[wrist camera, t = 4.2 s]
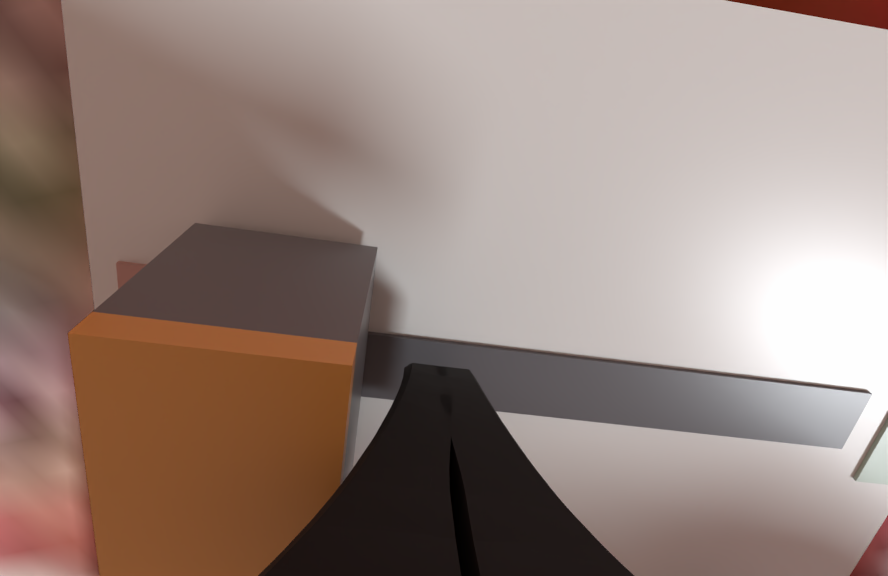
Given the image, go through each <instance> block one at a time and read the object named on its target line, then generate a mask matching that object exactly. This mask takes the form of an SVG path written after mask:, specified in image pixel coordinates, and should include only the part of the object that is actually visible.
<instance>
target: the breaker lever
mask: <svg viewBox="0 0 888 576" xmlns="http://www.w3.org/2000/svg"><path fill="white" fill-rule="evenodd" d="M377 249H378V247H373V246H365V245H358V244H350V243H342V242H335V241H327V240H320V239H312V238H305V237H297V236H290V235H282V234H275V233H267V232H260V231H252V230H245V229H237V228H229V227H222V226H214V225H207V224H199V223H194V224H193V225H192V226H191V227H190V228H189V229H187V230H186V231H185V232H184V233H183V234H182V235H180V236H179V237H178V238H177V239H176V240H175V241H174V242H172V243H171V244H170V245H169V246H168V247H167V248H165V249H164V250H163V251H162V252H161V253H160V254H159V255H157V256H156V257H155V258H154V259H153V260H152V261H150V262H149V263H148V264H147V265H146V266H145V267H143V268H142V269H141V270H140V271H139V272H138V273H137V274H135V275H134V276H133V277H132V278H131V279H130V280H128V281H127V282H126V283H125V284H124V285H123V286H122V287H120V288H119V289H118V290H117V291H116V292H115V293H113V294H112V295H111V296H110V297H109V298H108V299H107V300H105V301H104V302H103V303H102V304H101V305H100V306H98V307H97V308H96V309H95V310H94V311H93V312H92V313H90V314H89V315H88V316H87V317H86V318H85V319H83V320H82V321H81V322H80V323H79V324H78V325H76V326H75V327H74V328H73V329H72V330H71V331H70V332H68V340H69V348H70V355H71V363H72V370H73V378H74V385H75V393H76V401H77V408H78V416H79V423H80V431H81V438H82V446H83V453H84V461H85V469H86V476H87V484H88V491H89V499H90V506H91V514H92V521H93V529H94V537H95V544H96V552H97V559H98V567H99V574H100V576H258V575H259V574H260V573H261V572H262V571H263V570H264V569H265V568H266V567H267V566H268V565H269V564H270V563H271V562H272V561H273V560H274V559H275V558H276V557H277V556H278V555H279V554H280V553H281V552H282V551H283V550H284V549H285V548H286V547H287V546H288V545H289V544H290V543H291V541H292V540H293V539H294V538H295V537H296V536H297V535H298V534H299V533H300V532H301V531H302V530H303V529H304V528H305V526H306V525H307V524H308V523H309V522H310V521H311V520H312V519H313V518H314V516H315V515H316V514H317V513H318V512H319V511H320V509H321V508H322V507H323V506H324V505H325V503H326V502H327V501H328V500H329V499H330V498H331V496H332V495H333V494H334V492H335V491H336V490H337V489H338V487H339V486H340V485H341V484H342V482H343V481H344V480H345V478H346V477H347V476H348V474H349V473H350V472H351V470H352V469H353V462H354V453H355V444H356V435H357V427H358V418H359V409H360V400H361V391H362V382H363V373H364V364H365V356H366V347H367V338H368V329H369V320H370V311H371V302H372V294H373V285H374V276H375V267H376V258H377Z"/></svg>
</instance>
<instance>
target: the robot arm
mask: <svg viewBox="0 0 888 576" xmlns="http://www.w3.org/2000/svg"><path fill="white" fill-rule="evenodd" d="M258 576H634V575H633V574H632V573H631V572H630V571H629V570H628V569H627V568H625V567H624V566H623V565H622V564H621V563H620V562H619V561H618V560H617V559H616V558H615V557H614V556H613V555H612V554H611V553H610V552H609V551H608V550H607V549H606V548H605V547H604V546H603V545H602V544H601V543H600V542H599V541H598V540H597V539H596V538H595V537H594V536H593V535H592V533H591V532H590V531H589V530H588V529H587V528H586V527H585V526H584V525H583V524H582V523H581V522H580V521H579V520H578V519H577V518H576V517H575V516H574V515H573V513H572V512H571V511H570V510H569V509H568V508H567V507H566V506H565V504H564V503H563V502H562V501H561V500H560V499H559V498H558V496H557V495H556V494H555V493H554V491H553V490H552V489H551V488H550V486H549V485H548V484H547V483H546V481H545V480H544V479H543V478H542V476H541V475H540V474H539V473H538V471H537V470H536V469H535V467H534V466H533V465H532V463H531V462H530V461H529V459H528V458H527V457H526V455H525V454H524V452H523V451H522V449H521V448H520V447H519V445H518V444H517V442H516V441H515V439H514V438H513V437H512V435H511V434H510V432H509V431H508V429H507V428H506V426H505V425H504V423H503V422H502V420H501V419H500V417H499V416H498V414H497V413H496V411H495V409H494V408H493V406H492V405H491V403H490V401H489V400H488V398H487V397H486V395H485V393H484V392H483V390H482V388H481V387H480V385H479V383H478V381H477V380H476V378H475V376H474V375H473V374H472V372H471V371H470V370H469V369H462V368H453V367H444V366H436V365H427V364H419V363H411V364H409V365H408V366H406V367H405V368H404V373H403V379H402V382H401V385H400V388H399V390H398V393H397V395H396V397H395V399H394V401H393V404H392V406H391V408H390V410H389V411H388V413H387V415H386V417H385V419H384V420H383V422H382V424H381V426H380V427H379V429H378V431H377V433H376V434H375V436H374V438H373V439H372V441H371V442H370V444H369V445H368V447H367V448H366V450H365V451H364V453H363V454H362V456H361V457H360V458H359V460H358V461H357V463H356V464H355V466H354V467H353V469H352V470H351V472H350V473H349V474H348V476H347V477H346V478H345V480H344V481H343V482H342V484H341V485H340V486H339V487H338V489H337V490H336V491H335V492H334V494H333V495H332V496H331V498H330V499H329V500H328V501H327V502H326V503H325V505H324V506H323V507H322V508H321V509H320V511H319V512H318V513H317V514H316V515H315V516H314V518H313V519H312V520H311V521H310V522H309V523H308V524H307V525H306V526H305V528H304V529H303V530H302V531H301V532H300V533H299V534H298V535H297V536H296V537H295V538H294V539H293V540H292V541H291V543H290V544H289V545H288V546H287V547H286V548H285V549H284V550H283V551H282V552H281V553H280V554H279V555H278V556H277V557H276V558H275V559H274V560H273V561H272V562H271V563H270V564H269V565H268V566H267V567H266V568H265V569H264V570H263V571H262V572H261V573H260V574H259V575H258Z"/></svg>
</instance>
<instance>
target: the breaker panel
mask: <svg viewBox="0 0 888 576" xmlns="http://www.w3.org/2000/svg"><path fill="white" fill-rule="evenodd" d="M61 6H62V15H63V24H64V34H65V43H66V52H67V61H68V71H69V80H70V89H71V98H72V107H73V117H74V126H75V135H76V144H77V154H78V163H79V172H80V181H81V190H82V200H83V209H84V218H85V227H86V237H87V246H88V255H89V264H90V273H91V283H92V292H93V301H94V310H95V309H96V308H97V307H98V306H100V305H101V304H102V303H103V302H104V301H105V300H107V299H108V298H109V297H110V296H111V295H112V294H113V293H115V292H116V291H117V290H118V289H119V288H120V287H122V286H123V285H124V284H125V283H126V282H127V281H128V280H130V279H131V278H132V277H133V276H134V275H135V274H137V273H138V272H139V271H140V270H141V269H142V268H143V267H145V266H146V265H147V264H148V263H149V262H150V261H152V260H153V259H154V258H155V257H156V256H157V255H159V254H160V253H161V252H162V251H163V250H164V249H165V248H167V247H168V246H169V245H170V244H171V243H172V242H174V241H175V240H176V239H177V238H178V237H179V236H180V235H182V234H183V233H184V232H185V231H186V230H187V229H189V228H190V227H191V226H192V225H193V224H194V223H199V224H207V225H214V226H222V227H229V228H237V229H245V230H252V231H260V232H267V233H275V234H282V235H290V236H297V237H305V238H312V239H320V240H327V241H335V242H342V243H350V244H358V245H365V246H373V247H378V249H377V258H376V267H375V276H374V285H373V294H372V302H371V311H370V320H369V329H368V338H367V347H366V356H365V364H364V373H363V382H362V391H361V400H360V409H359V418H358V427H357V435H356V444H355V453H354V462H353V467H354V466H355V464H356V463H357V461H358V460H359V458H360V457H361V456H362V454H363V453H364V451H365V450H366V448H367V447H368V445H369V444H370V442H371V441H372V439H373V438H374V436H375V434H376V433H377V431H378V429H379V427H380V426H381V424H382V422H383V420H384V419H385V417H386V415H387V413H388V411H389V410H390V408H391V406H392V404H393V401H394V399H395V397H396V395H397V393H398V390H399V388H400V385H401V382H402V379H403V373H404V368H405V367H406V366H408V365H409V364H411V363H419V364H427V365H436V366H444V367H453V368H462V369H469V370H470V371H471V372H472V374H473V375H474V376H475V378H476V380H477V381H478V383H479V385H480V387H481V388H482V390H483V392H484V393H485V395H486V397H487V398H488V400H489V401H490V403H491V405H492V406H493V408H494V409H495V411H496V413H497V414H498V416H499V417H500V419H501V420H502V422H503V423H504V425H505V426H506V428H507V429H508V431H509V432H510V434H511V435H512V437H513V438H514V439H515V441H516V442H517V444H518V445H519V447H520V448H521V449H522V451H523V452H524V454H525V455H526V457H527V458H528V459H529V461H530V462H531V463H532V465H533V466H534V467H535V469H536V470H537V471H538V473H539V474H540V475H541V476H542V478H543V479H544V480H545V481H546V483H547V484H548V485H549V486H550V488H551V489H552V490H553V491H554V493H555V494H556V495H557V496H558V498H559V499H560V500H561V501H562V502H563V503H564V504H565V506H566V507H567V508H568V509H569V510H570V511H571V512H572V513H573V515H574V516H575V517H576V518H577V519H578V520H579V521H580V522H581V523H582V524H583V525H584V526H585V527H586V528H587V529H588V530H589V531H590V532H591V533H592V535H593V536H594V537H595V538H596V539H597V540H598V541H599V542H600V543H601V544H602V545H603V546H604V547H605V548H606V549H607V550H608V551H609V552H610V553H611V554H612V555H613V556H614V557H615V558H616V559H617V560H618V561H619V562H620V563H621V564H622V565H623V566H624V567H625V568H627V569H628V570H629V571H630V572H631V573H632V574H633V575H634V576H850V574H851V573H852V571H853V569H854V568H855V566H856V565H857V563H858V561H859V560H860V558H861V557H862V555H863V554H864V552H865V550H866V549H867V547H868V546H869V544H870V542H871V541H872V539H873V538H874V536H875V535H876V533H877V531H878V530H879V528H880V527H881V525H882V523H883V522H884V520H885V519H886V517H887V515H888V30H887V29H881V28H876V27H870V26H864V25H859V24H853V23H848V22H842V21H837V20H831V19H826V18H820V17H815V16H809V15H804V14H798V13H792V12H787V11H781V10H776V9H770V8H765V7H759V6H754V5H748V4H743V3H737V2H732V1H726V0H61Z"/></svg>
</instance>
